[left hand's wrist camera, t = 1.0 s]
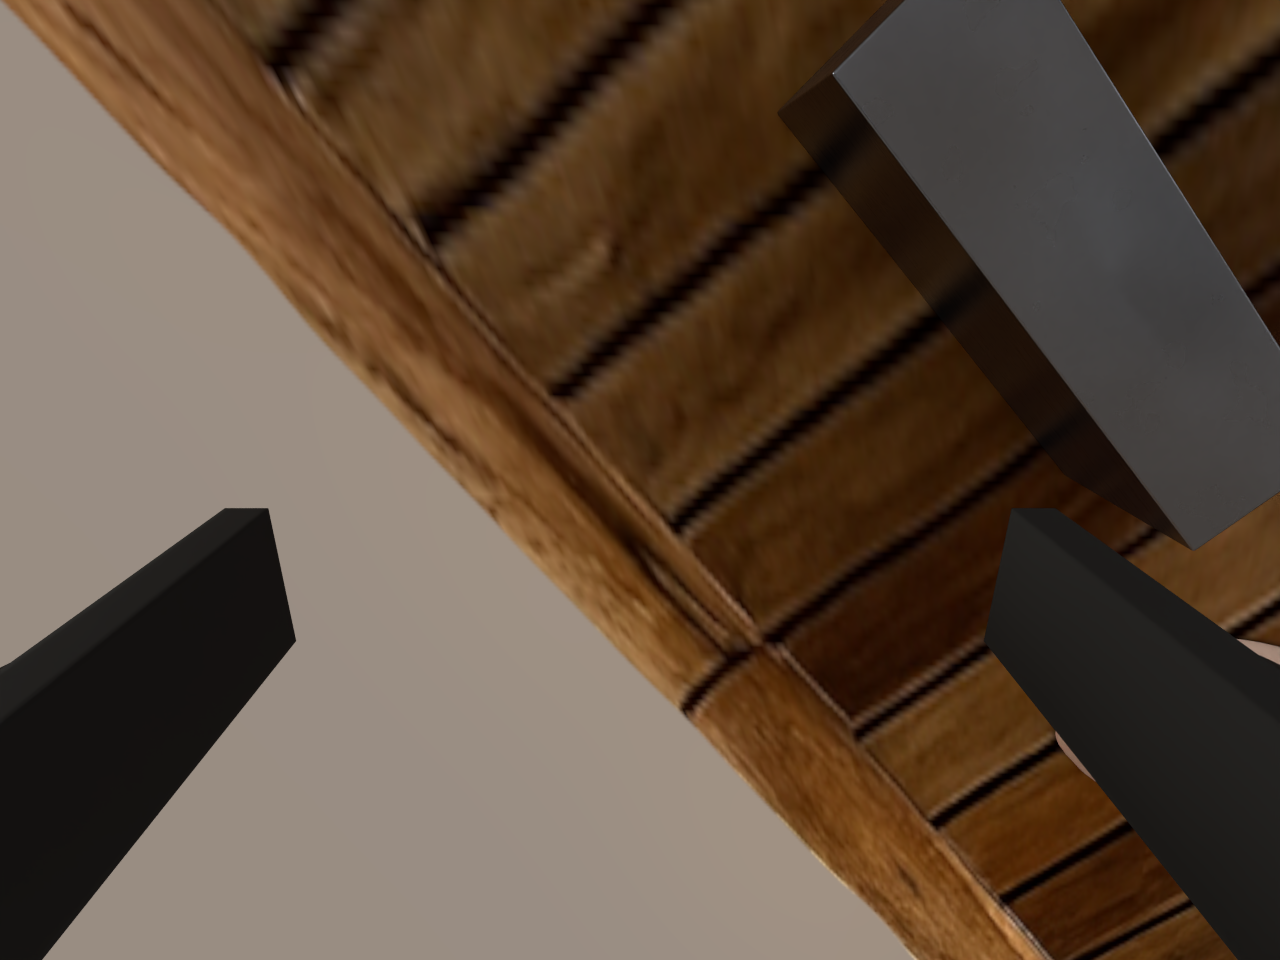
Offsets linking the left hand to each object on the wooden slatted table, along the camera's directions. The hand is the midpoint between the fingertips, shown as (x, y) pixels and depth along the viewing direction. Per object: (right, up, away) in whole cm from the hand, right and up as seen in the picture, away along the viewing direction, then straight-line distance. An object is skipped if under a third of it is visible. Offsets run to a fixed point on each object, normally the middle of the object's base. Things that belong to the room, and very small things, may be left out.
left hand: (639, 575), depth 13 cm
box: (+15, +11, +18) cm, 26 cm away
